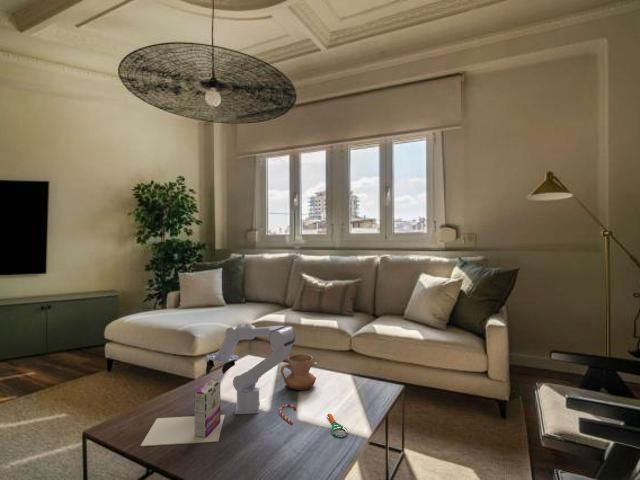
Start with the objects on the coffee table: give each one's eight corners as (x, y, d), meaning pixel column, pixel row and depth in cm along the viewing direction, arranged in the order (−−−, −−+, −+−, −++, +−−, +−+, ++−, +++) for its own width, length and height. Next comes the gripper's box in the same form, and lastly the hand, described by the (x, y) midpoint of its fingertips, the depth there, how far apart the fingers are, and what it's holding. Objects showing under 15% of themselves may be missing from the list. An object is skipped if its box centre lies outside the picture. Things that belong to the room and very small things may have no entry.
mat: (224, 415, 144) (224, 414, 144) (218, 441, 126) (218, 440, 126) (157, 419, 140) (157, 418, 140) (140, 446, 122) (140, 445, 122)
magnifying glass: (350, 437, 131) (350, 432, 131) (334, 440, 129) (334, 435, 129) (336, 416, 145) (336, 412, 145) (322, 418, 143) (322, 414, 143)
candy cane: (283, 423, 137) (276, 405, 151) (283, 426, 137) (276, 408, 151) (303, 420, 139) (294, 402, 154) (303, 424, 139) (294, 405, 154)
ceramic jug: (315, 379, 180) (315, 351, 180) (319, 392, 166) (319, 361, 166) (280, 381, 178) (280, 353, 178) (280, 394, 164) (280, 363, 163)
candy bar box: (209, 420, 139) (209, 379, 139) (220, 422, 138) (221, 380, 138) (193, 436, 128) (193, 391, 128) (206, 438, 127) (206, 393, 127)
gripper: (239, 342, 161) (227, 365, 165) (208, 342, 152) (197, 365, 156) (244, 354, 156) (231, 376, 160) (213, 354, 147) (201, 378, 151)
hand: (215, 372), depth 157 cm, fingers open, 7 cm apart
